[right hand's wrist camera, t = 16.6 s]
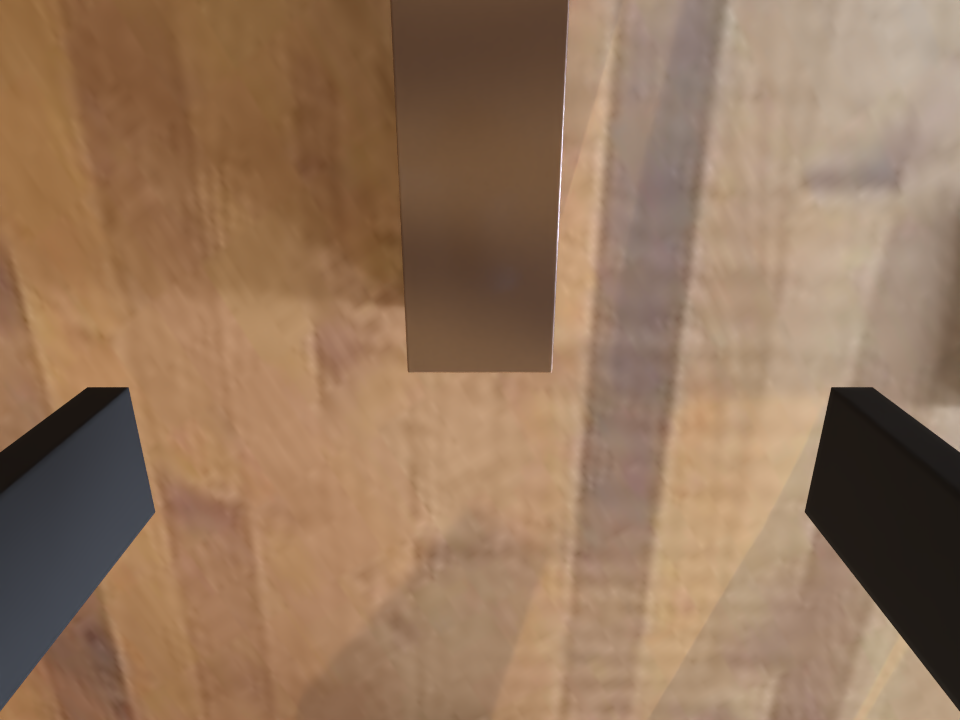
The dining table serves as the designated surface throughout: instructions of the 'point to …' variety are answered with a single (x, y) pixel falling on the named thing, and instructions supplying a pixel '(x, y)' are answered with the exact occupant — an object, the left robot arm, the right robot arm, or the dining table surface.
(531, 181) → the post
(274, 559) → the dining table surface
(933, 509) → the right robot arm
